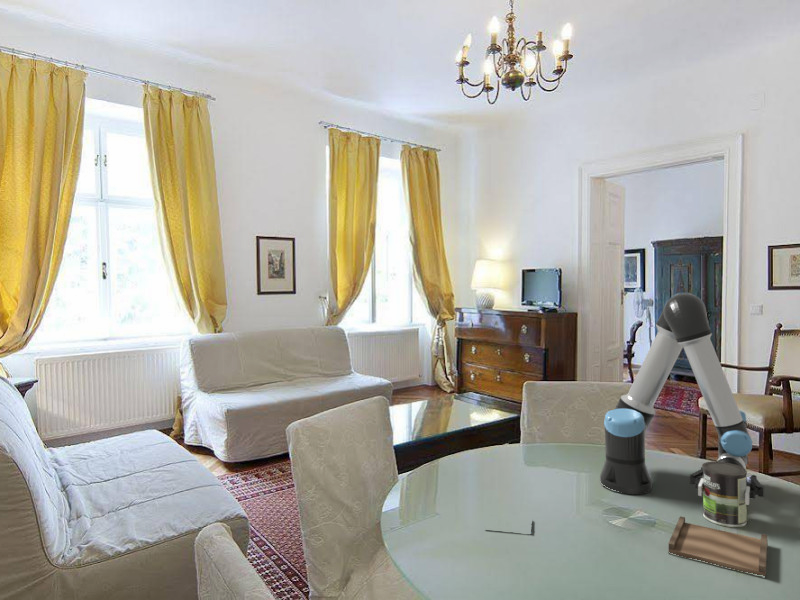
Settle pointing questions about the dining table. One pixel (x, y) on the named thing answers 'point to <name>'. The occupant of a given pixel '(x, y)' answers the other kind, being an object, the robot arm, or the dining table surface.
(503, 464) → the dining table surface
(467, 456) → the dining table surface
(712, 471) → the coffee can
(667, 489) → the dining table surface
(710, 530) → the cradle
